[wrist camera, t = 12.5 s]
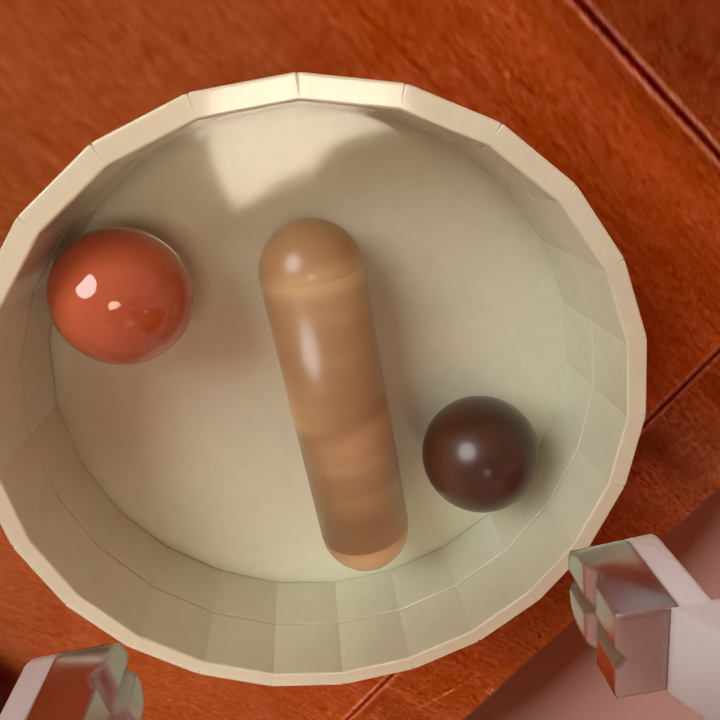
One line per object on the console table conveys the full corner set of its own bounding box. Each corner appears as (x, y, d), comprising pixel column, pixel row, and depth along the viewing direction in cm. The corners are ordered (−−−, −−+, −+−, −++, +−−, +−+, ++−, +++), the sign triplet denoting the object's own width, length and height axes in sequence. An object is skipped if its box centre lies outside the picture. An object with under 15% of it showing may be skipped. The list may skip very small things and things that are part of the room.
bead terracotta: (179, 191, 17) (28, 209, 15) (233, 317, 17) (86, 355, 14) (149, 255, 20) (21, 277, 18) (193, 361, 20) (68, 398, 17)
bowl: (347, -66, 17) (368, -138, 12) (662, 389, 23) (753, 455, 19) (-83, 359, 20) (-198, 431, 15) (300, 652, 27) (301, 763, 22)
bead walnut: (433, 410, 23) (527, 376, 22) (467, 508, 23) (568, 482, 21) (387, 422, 20) (495, 383, 18) (426, 538, 19) (542, 510, 17)
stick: (224, 233, 17) (299, 233, 15) (301, 208, 19) (376, 204, 17) (312, 570, 22) (378, 604, 20) (366, 520, 24) (430, 547, 22)
